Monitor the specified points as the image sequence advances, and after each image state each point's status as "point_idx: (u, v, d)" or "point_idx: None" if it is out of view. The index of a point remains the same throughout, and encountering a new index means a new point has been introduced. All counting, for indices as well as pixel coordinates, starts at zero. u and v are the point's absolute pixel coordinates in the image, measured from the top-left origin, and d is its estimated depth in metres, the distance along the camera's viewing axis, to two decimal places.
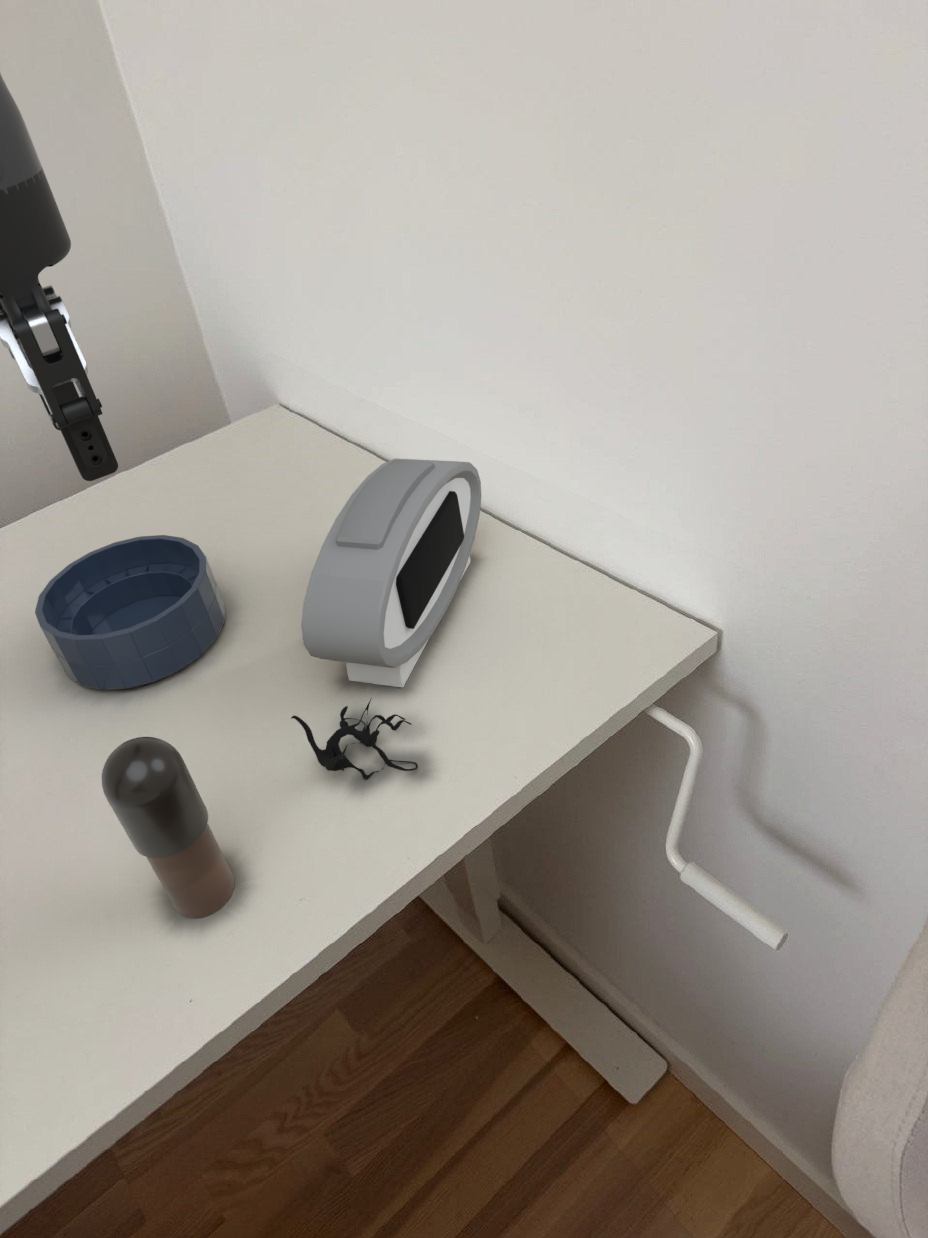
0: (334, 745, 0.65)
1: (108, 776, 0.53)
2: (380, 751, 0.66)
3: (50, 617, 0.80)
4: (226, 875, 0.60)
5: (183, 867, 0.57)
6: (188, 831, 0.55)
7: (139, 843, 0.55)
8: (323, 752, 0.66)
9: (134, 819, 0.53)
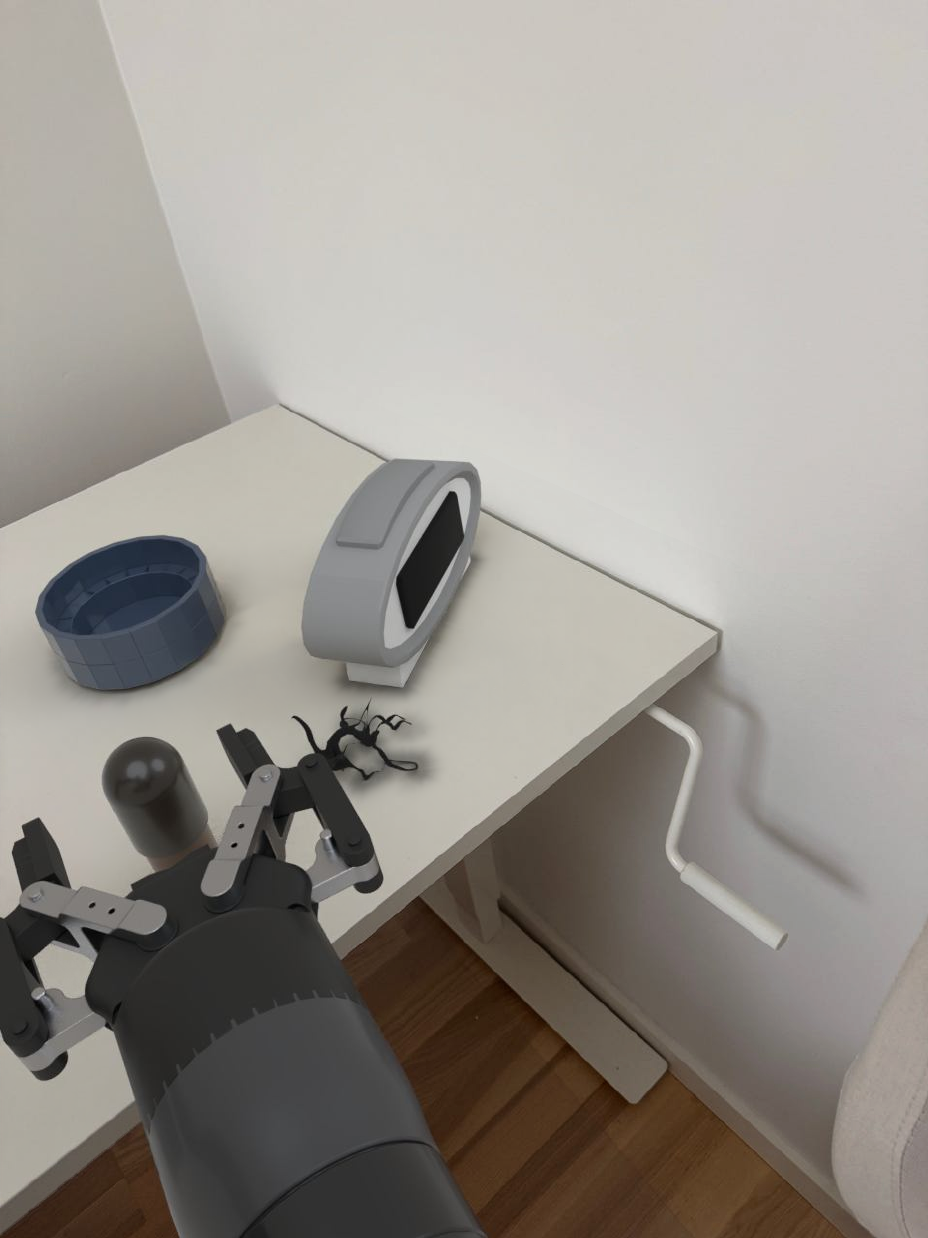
0: (334, 745, 0.65)
1: (108, 776, 0.53)
2: (380, 751, 0.66)
3: (50, 617, 0.80)
4: None
5: None
6: (188, 831, 0.55)
7: (139, 843, 0.55)
8: (323, 752, 0.66)
9: (134, 819, 0.53)
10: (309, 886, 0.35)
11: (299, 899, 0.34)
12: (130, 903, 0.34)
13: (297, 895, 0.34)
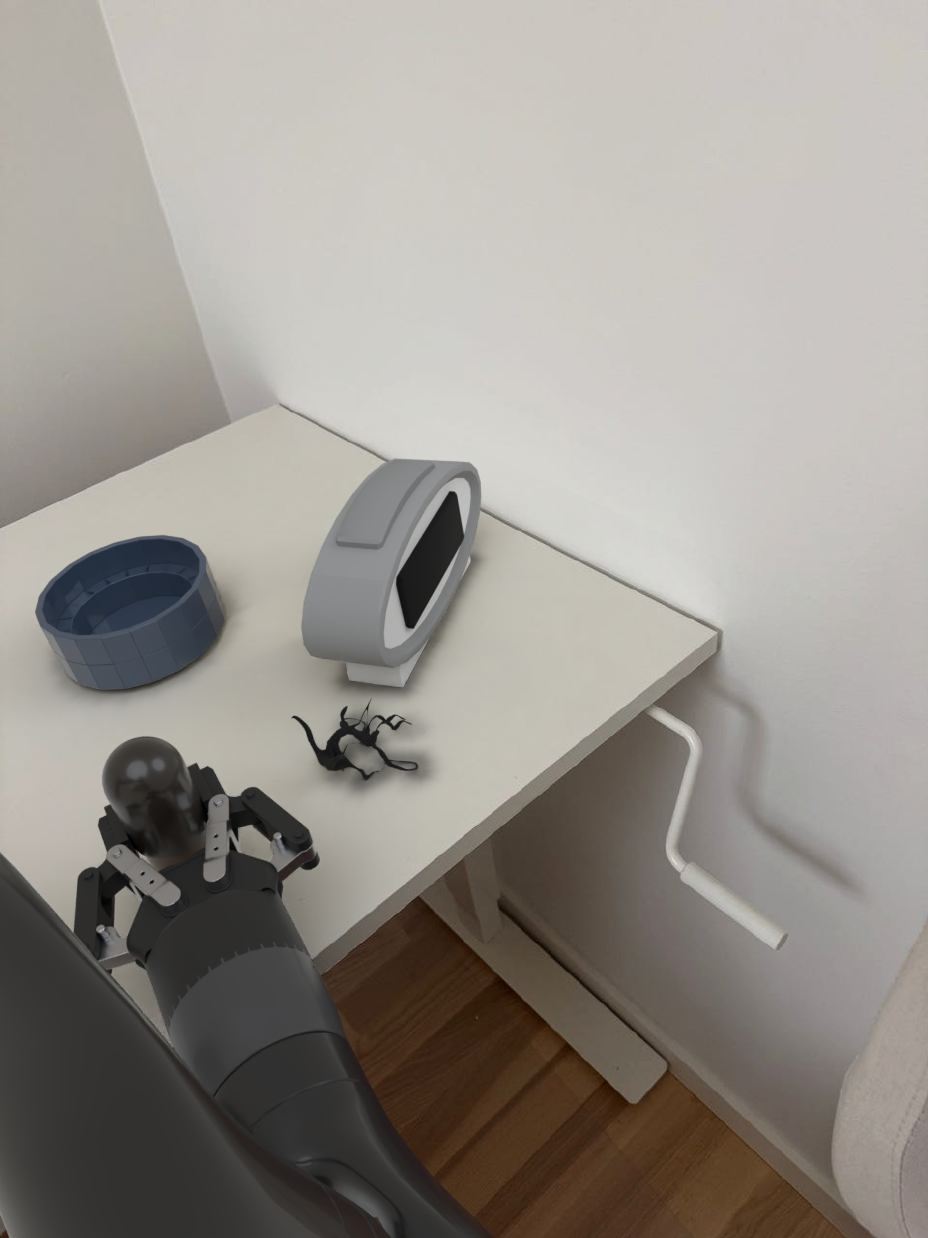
0: (334, 745, 0.65)
1: (108, 775, 0.53)
2: (380, 751, 0.66)
3: (50, 617, 0.80)
4: None
5: None
6: (188, 831, 0.55)
7: (139, 843, 0.55)
8: (323, 752, 0.66)
9: (134, 818, 0.53)
10: (276, 876, 0.52)
11: (269, 884, 0.51)
12: (156, 885, 0.51)
13: (267, 882, 0.51)
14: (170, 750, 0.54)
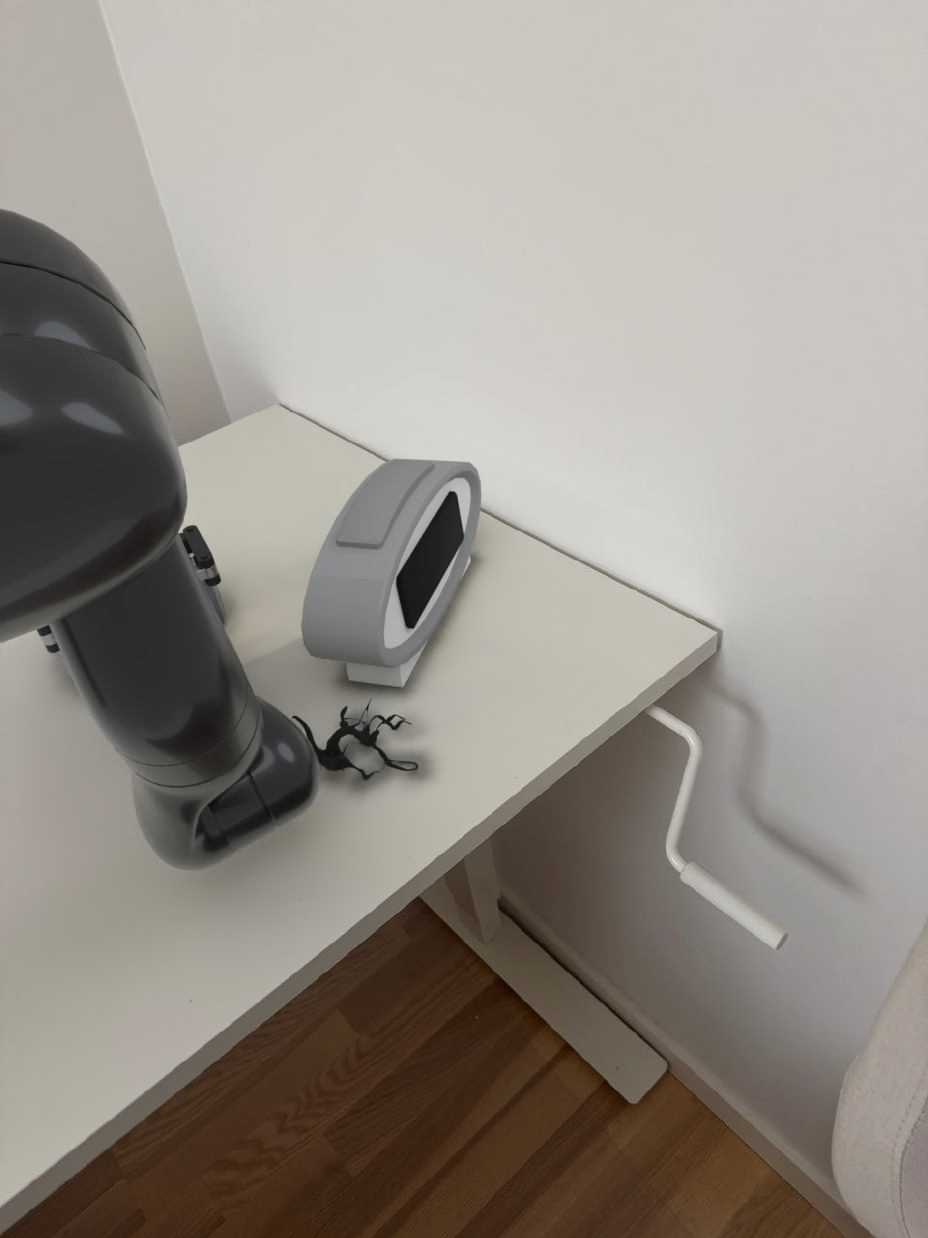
0: (334, 745, 0.65)
1: None
2: (380, 751, 0.66)
3: None
4: None
5: None
6: None
7: None
8: (323, 752, 0.66)
9: None
10: None
11: None
12: None
13: None
14: None
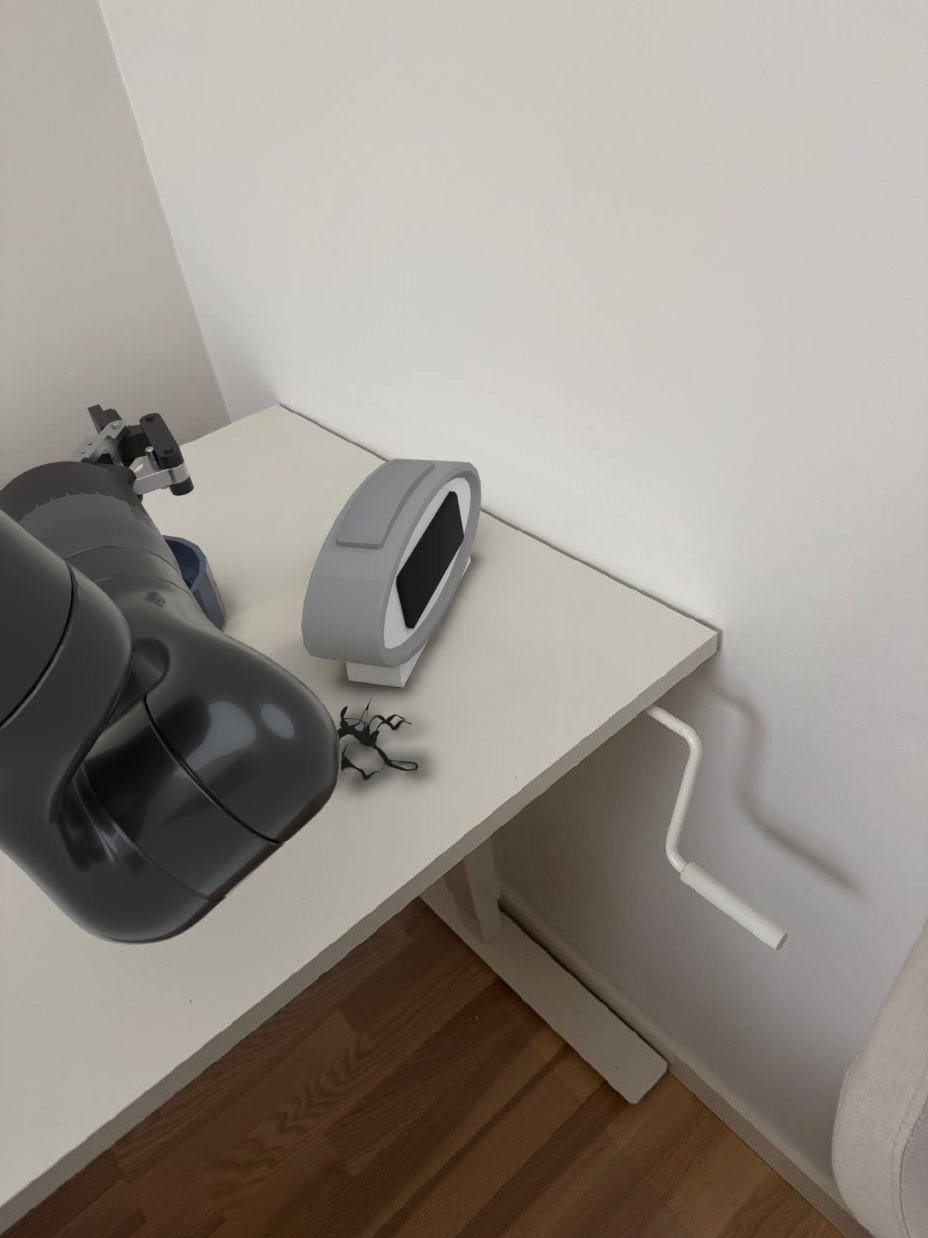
0: None
1: None
2: (380, 751, 0.66)
3: None
4: None
5: None
6: None
7: None
8: None
9: None
10: (133, 476, 0.49)
11: (123, 479, 0.49)
12: (5, 481, 0.49)
13: (122, 478, 0.49)
14: None
